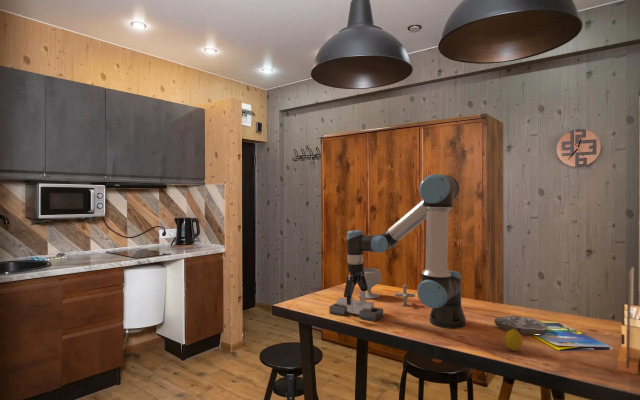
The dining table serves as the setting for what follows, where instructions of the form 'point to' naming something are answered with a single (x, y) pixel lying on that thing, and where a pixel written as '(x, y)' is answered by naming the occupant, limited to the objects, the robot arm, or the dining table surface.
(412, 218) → the robot arm
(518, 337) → the lemon
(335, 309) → the dark grey open boxes
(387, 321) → the dining table surface
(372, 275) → the chalice
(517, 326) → the mottled grey flat slab
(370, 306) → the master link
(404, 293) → the pipe connector
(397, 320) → the dining table surface
